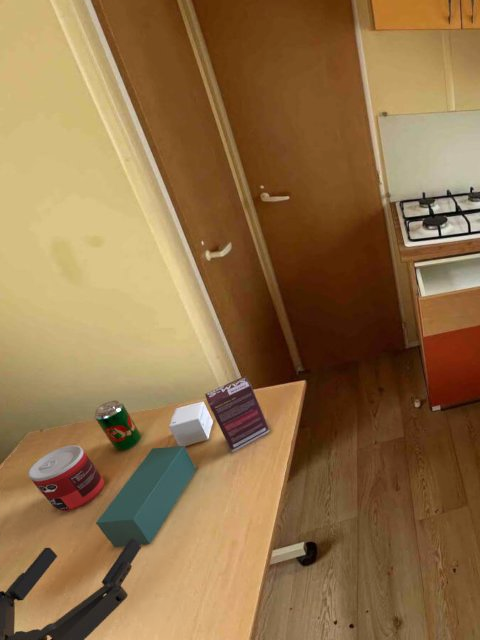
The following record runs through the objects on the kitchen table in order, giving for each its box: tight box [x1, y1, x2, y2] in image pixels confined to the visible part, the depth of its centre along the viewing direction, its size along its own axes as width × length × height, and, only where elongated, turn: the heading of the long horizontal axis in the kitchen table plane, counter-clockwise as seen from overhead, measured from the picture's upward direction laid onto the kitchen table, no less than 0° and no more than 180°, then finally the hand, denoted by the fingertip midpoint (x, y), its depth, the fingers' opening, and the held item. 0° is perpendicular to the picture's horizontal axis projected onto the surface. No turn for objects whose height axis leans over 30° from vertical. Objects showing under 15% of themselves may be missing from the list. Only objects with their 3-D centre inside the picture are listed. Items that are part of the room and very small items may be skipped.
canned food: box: [27, 444, 105, 513], centre depth 88 cm, size 8×8×11 cm
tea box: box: [95, 445, 197, 548], centre depth 86 cm, size 6×16×8 cm, turn 6°
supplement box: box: [204, 375, 270, 453], centre depth 100 cm, size 9×5×16 cm, turn 135°
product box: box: [168, 401, 214, 447], centre depth 102 cm, size 6×6×7 cm
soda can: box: [94, 400, 142, 452], centre depth 99 cm, size 5×5×12 cm
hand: (94, 547), depth 73 cm, fingers open, 13 cm apart
